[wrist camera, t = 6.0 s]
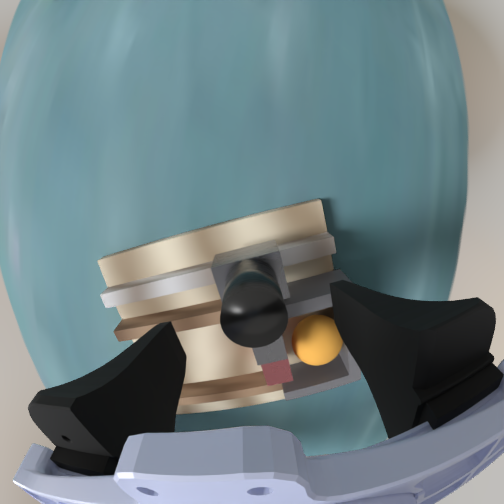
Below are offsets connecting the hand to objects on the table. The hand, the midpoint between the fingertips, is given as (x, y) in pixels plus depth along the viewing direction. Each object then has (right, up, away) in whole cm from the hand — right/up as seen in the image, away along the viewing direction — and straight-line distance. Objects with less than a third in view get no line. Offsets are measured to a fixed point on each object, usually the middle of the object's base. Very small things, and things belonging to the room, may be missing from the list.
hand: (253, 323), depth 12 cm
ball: (+5, -4, +8) cm, 10 cm away
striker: (+1, -1, +9) cm, 9 cm away
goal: (+5, -3, +10) cm, 12 cm away
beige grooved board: (-2, -3, +11) cm, 12 cm away
